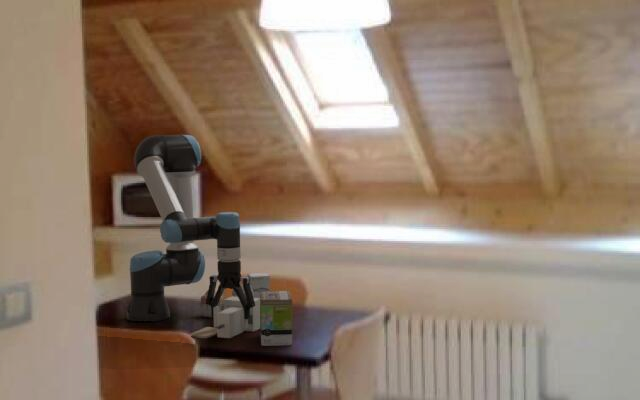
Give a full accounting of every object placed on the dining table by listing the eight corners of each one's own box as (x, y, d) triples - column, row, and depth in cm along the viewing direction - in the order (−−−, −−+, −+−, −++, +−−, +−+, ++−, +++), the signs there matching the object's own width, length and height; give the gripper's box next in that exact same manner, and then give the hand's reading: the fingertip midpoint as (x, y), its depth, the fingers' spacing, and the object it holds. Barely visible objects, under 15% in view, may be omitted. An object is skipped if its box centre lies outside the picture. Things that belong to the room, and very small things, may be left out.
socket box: (224, 329, 306) (223, 299, 306) (232, 325, 312) (232, 296, 311) (253, 331, 302) (252, 301, 301) (261, 327, 308) (261, 298, 307)
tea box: (293, 345, 283) (292, 298, 282) (261, 346, 282) (259, 299, 281) (291, 334, 298) (290, 289, 297) (260, 335, 297) (259, 290, 296)
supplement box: (251, 310, 336) (250, 276, 334) (247, 306, 343) (247, 273, 342) (270, 309, 337) (270, 275, 336) (267, 305, 344) (266, 272, 343)
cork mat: (187, 336, 297) (187, 334, 297) (206, 328, 308) (206, 326, 308) (206, 338, 294) (206, 336, 294) (224, 330, 305) (224, 328, 305)
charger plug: (212, 339, 293) (211, 315, 292) (235, 328, 307) (235, 305, 307) (224, 340, 291) (224, 316, 290) (247, 329, 306) (247, 306, 305)
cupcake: (214, 319, 321) (213, 291, 320) (193, 317, 326) (192, 289, 325) (229, 314, 329) (228, 287, 328) (208, 312, 334) (207, 285, 333)
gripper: (193, 260, 298) (195, 327, 300) (254, 263, 289) (256, 332, 291) (205, 256, 305) (206, 322, 307) (265, 259, 296) (266, 327, 298)
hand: (230, 327), depth 299 cm, fingers open, 10 cm apart
